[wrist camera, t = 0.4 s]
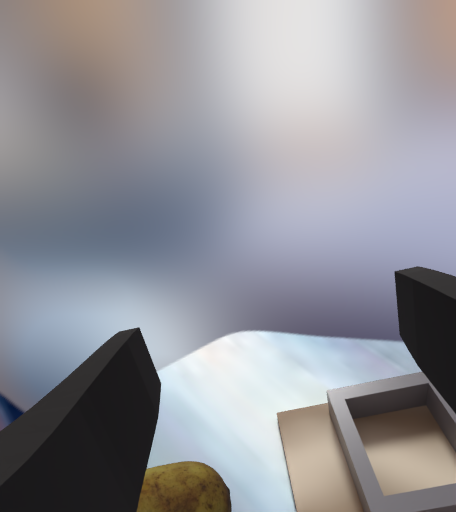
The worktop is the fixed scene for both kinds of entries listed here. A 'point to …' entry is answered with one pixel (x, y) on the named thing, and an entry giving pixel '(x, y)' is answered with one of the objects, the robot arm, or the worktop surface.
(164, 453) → the worktop surface
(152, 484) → the potato
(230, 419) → the worktop surface
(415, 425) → the board
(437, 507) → the frame
